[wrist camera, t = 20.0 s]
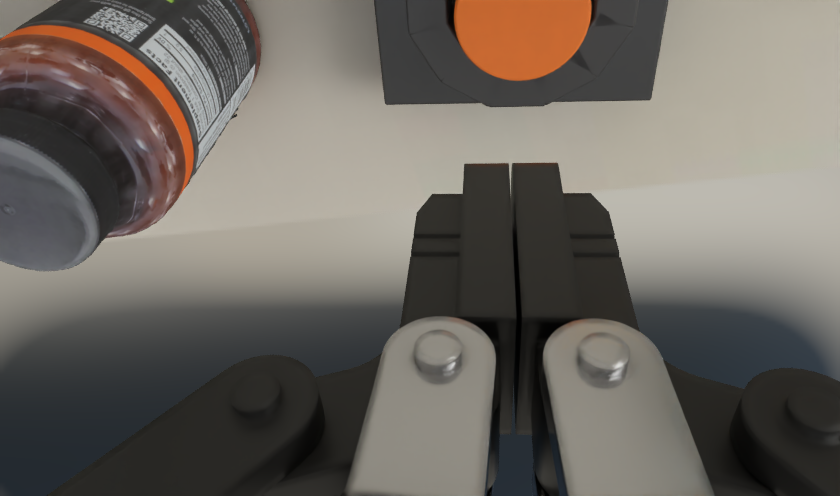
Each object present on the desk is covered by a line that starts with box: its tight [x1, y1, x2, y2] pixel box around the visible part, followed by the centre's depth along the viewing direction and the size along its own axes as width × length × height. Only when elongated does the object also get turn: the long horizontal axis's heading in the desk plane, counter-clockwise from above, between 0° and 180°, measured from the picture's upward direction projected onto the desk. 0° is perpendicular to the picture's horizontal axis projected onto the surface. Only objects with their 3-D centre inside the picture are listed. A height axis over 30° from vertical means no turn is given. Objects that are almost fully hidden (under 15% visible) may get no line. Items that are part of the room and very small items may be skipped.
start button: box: [454, 0, 592, 81], centre depth 18 cm, size 4×4×2 cm
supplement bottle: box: [0, 0, 261, 271], centre depth 19 cm, size 6×6×11 cm
